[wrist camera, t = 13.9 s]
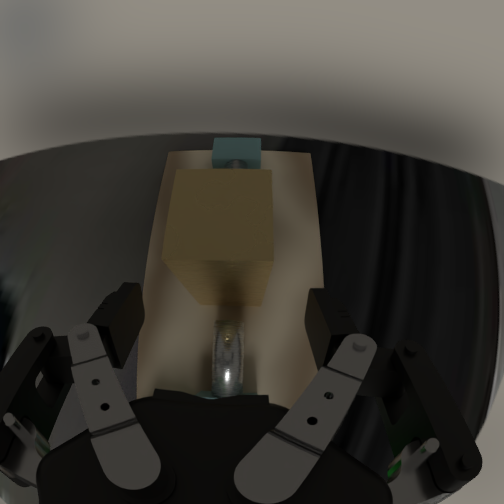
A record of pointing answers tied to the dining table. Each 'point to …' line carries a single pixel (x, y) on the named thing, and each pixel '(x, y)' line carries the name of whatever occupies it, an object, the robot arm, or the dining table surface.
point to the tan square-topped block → (221, 234)
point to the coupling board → (236, 317)
